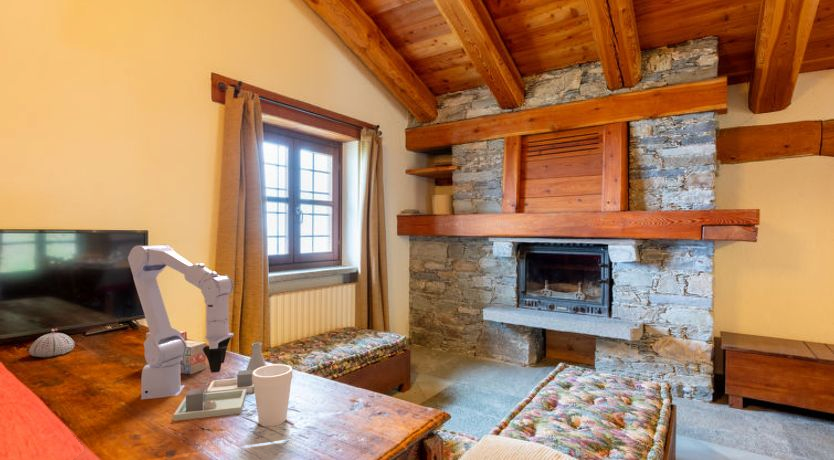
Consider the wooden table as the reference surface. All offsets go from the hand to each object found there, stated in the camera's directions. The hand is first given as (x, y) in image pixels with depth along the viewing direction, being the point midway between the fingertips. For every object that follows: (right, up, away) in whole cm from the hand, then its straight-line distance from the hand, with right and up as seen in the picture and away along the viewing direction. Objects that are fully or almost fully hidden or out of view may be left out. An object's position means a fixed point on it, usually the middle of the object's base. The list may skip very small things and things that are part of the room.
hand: (217, 367), depth 116 cm
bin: (+1, -9, -5) cm, 11 cm away
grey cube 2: (-3, -9, -6) cm, 11 cm away
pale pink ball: (+2, -9, -8) cm, 12 cm away
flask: (+3, -10, +21) cm, 24 cm away
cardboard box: (-28, -10, +27) cm, 40 cm away
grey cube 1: (+4, -9, +8) cm, 13 cm away
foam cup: (+20, -10, -13) cm, 26 cm away
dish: (+1, -9, +7) cm, 12 cm away
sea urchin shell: (-85, -10, +43) cm, 96 cm away
